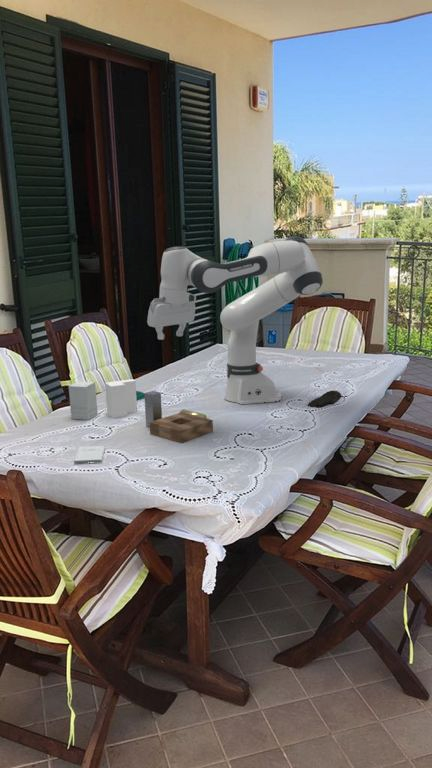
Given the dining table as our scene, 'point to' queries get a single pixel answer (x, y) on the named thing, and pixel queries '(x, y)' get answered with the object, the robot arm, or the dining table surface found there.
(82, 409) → the supplement box
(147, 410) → the square bit
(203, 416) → the round bit
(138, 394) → the digital multimeter
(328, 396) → the dark elongated pod
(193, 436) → the socket block
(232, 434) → the dining table surface
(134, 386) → the corner bracket
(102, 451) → the external hard drive
